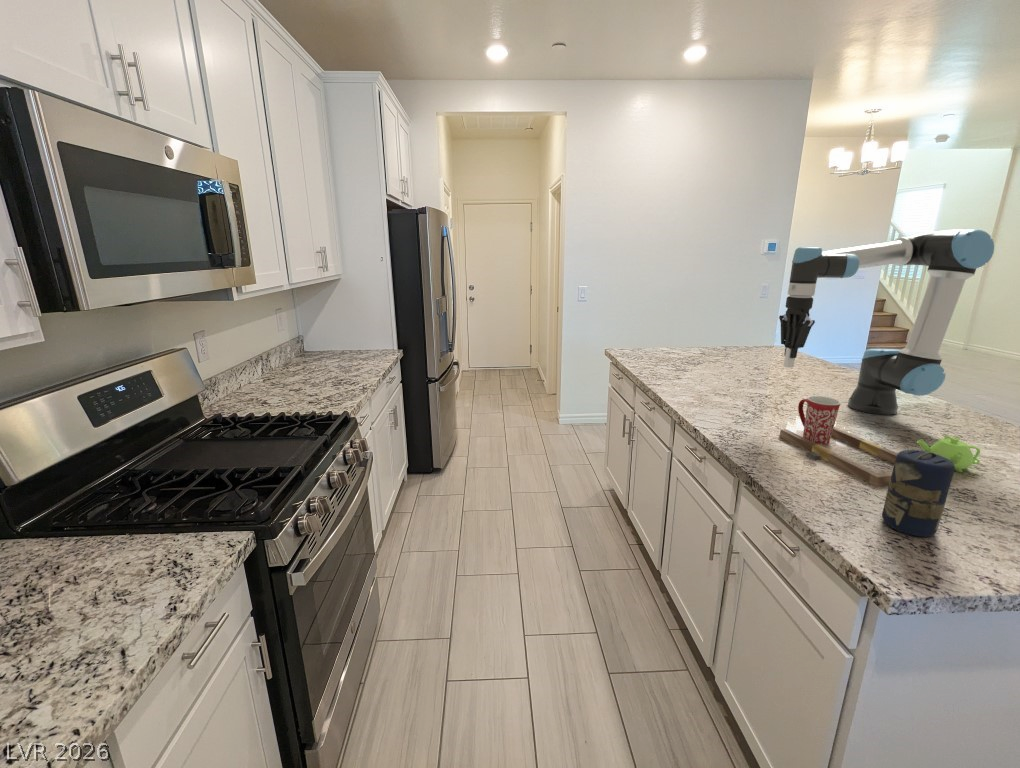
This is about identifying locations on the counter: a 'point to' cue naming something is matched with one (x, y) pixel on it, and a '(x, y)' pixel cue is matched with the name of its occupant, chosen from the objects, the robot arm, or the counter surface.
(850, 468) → the beam slot
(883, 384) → the robot arm
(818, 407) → the mug
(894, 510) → the canister
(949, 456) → the teapot
